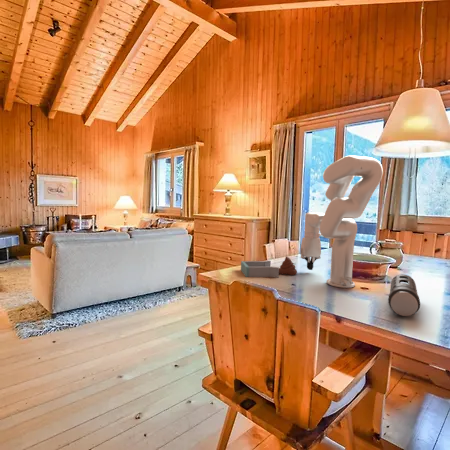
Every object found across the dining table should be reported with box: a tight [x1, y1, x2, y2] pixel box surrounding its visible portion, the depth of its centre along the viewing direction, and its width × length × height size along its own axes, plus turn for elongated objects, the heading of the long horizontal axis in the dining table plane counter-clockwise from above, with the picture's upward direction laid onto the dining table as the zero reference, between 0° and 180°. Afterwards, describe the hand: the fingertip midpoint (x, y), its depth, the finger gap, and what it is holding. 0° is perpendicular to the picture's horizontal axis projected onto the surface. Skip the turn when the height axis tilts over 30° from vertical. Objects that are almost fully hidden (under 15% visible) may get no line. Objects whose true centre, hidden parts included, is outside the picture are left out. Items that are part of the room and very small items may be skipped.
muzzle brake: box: [387, 273, 421, 317], centre depth 118 cm, size 10×28×10 cm, turn 151°
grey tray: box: [240, 260, 280, 278], centre depth 166 cm, size 18×17×5 cm
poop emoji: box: [278, 255, 298, 276], centre depth 167 cm, size 10×8×9 cm
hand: (309, 269), depth 169 cm, fingers closed
